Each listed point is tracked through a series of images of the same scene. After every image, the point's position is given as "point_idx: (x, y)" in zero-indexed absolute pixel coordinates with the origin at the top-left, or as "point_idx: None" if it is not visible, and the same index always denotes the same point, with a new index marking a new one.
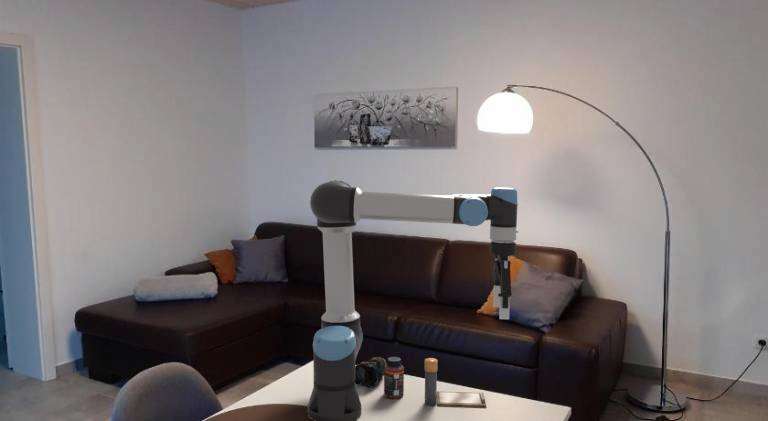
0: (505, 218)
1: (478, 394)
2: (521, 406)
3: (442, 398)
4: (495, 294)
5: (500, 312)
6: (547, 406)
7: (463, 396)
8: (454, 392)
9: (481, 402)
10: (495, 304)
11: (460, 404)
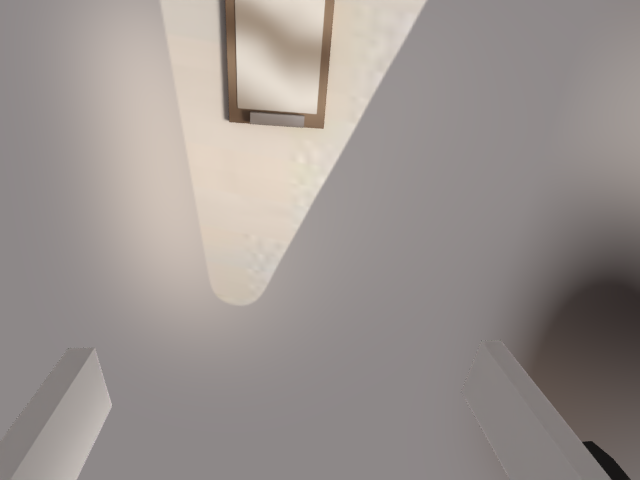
0: None
1: (308, 111)
2: (248, 219)
3: None
4: (552, 461)
5: (27, 409)
6: (254, 277)
7: (292, 54)
8: (328, 25)
9: (250, 110)
10: (486, 370)
11: (226, 31)
